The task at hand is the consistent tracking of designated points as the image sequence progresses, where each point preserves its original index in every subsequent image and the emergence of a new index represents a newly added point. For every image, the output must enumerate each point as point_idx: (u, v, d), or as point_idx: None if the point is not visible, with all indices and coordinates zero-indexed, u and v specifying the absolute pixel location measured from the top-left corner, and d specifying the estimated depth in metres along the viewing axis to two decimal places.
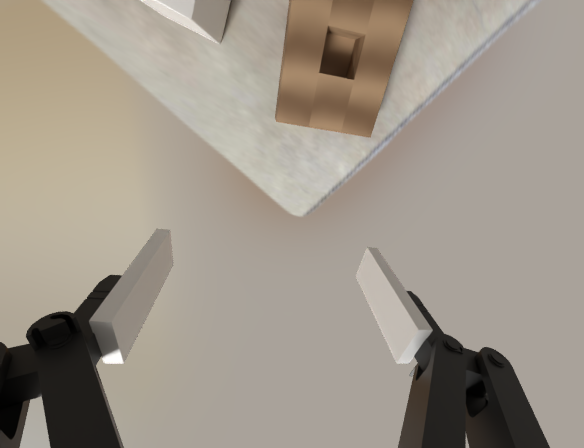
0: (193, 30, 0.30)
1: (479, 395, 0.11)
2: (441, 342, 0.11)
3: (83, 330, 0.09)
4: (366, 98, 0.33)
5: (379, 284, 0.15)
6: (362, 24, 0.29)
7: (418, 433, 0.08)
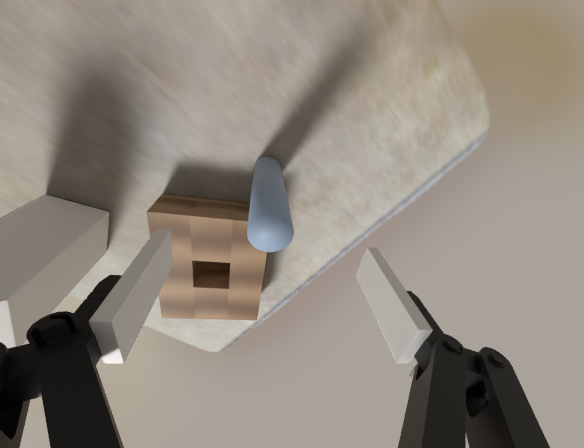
0: None
1: (479, 395, 0.11)
2: (441, 342, 0.11)
3: (83, 330, 0.09)
4: (244, 298, 0.35)
5: (379, 284, 0.15)
6: (225, 257, 0.31)
7: (418, 433, 0.08)
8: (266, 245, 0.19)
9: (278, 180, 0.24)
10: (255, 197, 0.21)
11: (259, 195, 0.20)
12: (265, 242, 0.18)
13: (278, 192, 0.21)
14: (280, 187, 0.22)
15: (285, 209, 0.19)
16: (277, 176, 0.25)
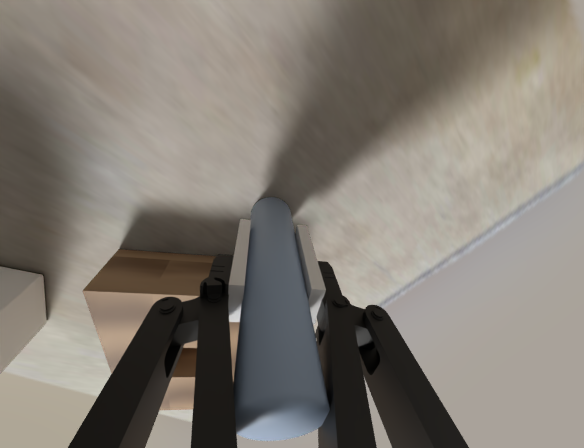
0: None
1: (371, 348, 0.12)
2: (331, 303, 0.12)
3: None
4: None
5: (299, 256, 0.16)
6: None
7: (330, 402, 0.08)
8: (272, 433, 0.09)
9: (290, 255, 0.14)
10: (250, 308, 0.11)
11: (258, 308, 0.11)
12: (269, 430, 0.09)
13: (293, 295, 0.11)
14: (295, 275, 0.13)
15: (310, 353, 0.09)
16: (288, 244, 0.15)
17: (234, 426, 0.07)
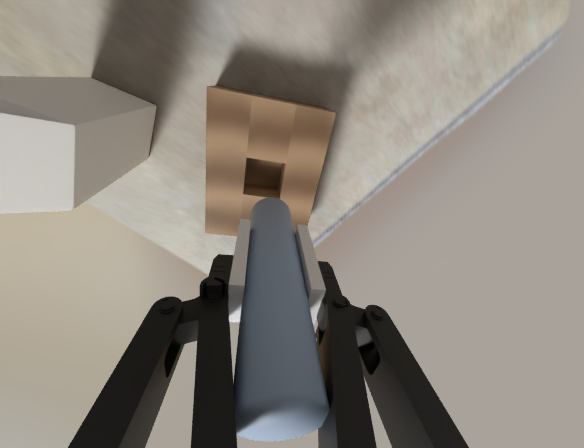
0: None
1: (371, 348, 0.12)
2: (331, 303, 0.12)
3: None
4: (293, 212, 0.33)
5: (299, 256, 0.16)
6: (281, 155, 0.29)
7: (330, 402, 0.08)
8: (272, 434, 0.09)
9: (290, 255, 0.14)
10: (250, 309, 0.11)
11: (258, 308, 0.11)
12: (269, 431, 0.09)
13: (293, 295, 0.11)
14: (295, 275, 0.13)
15: (310, 353, 0.09)
16: (288, 244, 0.15)
17: (234, 426, 0.07)
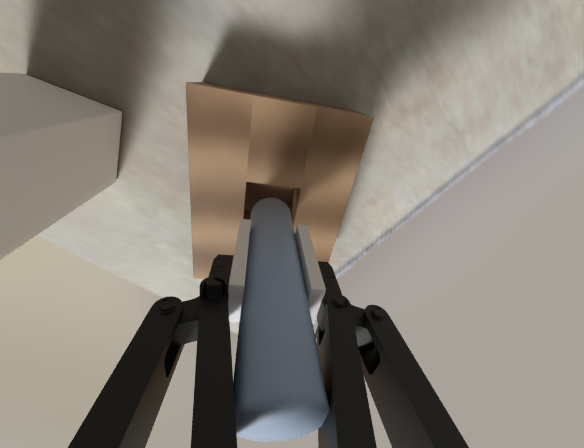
0: None
1: (371, 348, 0.12)
2: (331, 303, 0.12)
3: None
4: None
5: (299, 256, 0.16)
6: (294, 178, 0.21)
7: (330, 402, 0.08)
8: (271, 434, 0.09)
9: (290, 256, 0.14)
10: (249, 309, 0.11)
11: (257, 309, 0.11)
12: (269, 431, 0.09)
13: (293, 296, 0.11)
14: (295, 276, 0.13)
15: (310, 354, 0.09)
16: (288, 245, 0.15)
17: (234, 426, 0.07)
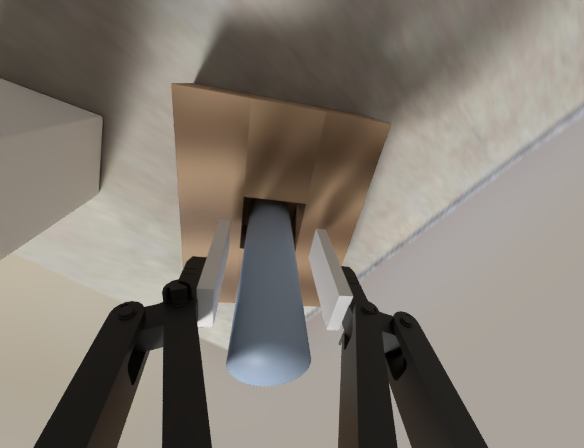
0: None
1: (398, 355, 0.12)
2: (359, 309, 0.12)
3: None
4: None
5: (320, 261, 0.16)
6: (299, 192, 0.18)
7: (353, 405, 0.08)
8: (262, 378, 0.11)
9: (284, 237, 0.16)
10: (246, 278, 0.12)
11: (253, 277, 0.12)
12: (260, 375, 0.10)
13: (284, 268, 0.13)
14: (287, 253, 0.14)
15: (296, 312, 0.11)
16: (282, 228, 0.17)
17: (208, 431, 0.07)
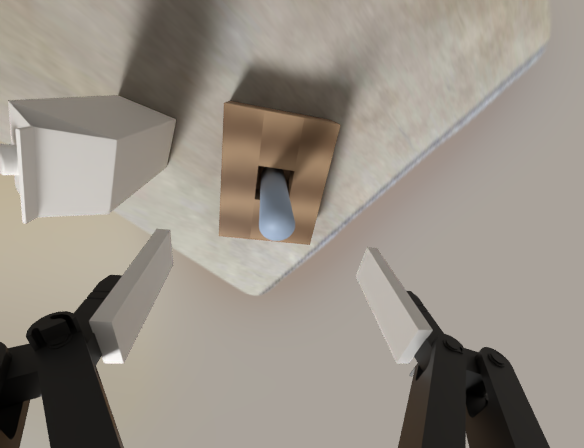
0: None
1: (479, 395, 0.11)
2: (441, 342, 0.11)
3: (83, 330, 0.09)
4: (301, 216, 0.35)
5: (379, 284, 0.15)
6: (290, 163, 0.31)
7: (418, 433, 0.08)
8: (273, 235, 0.24)
9: (282, 185, 0.29)
10: (264, 198, 0.26)
11: (268, 196, 0.25)
12: (273, 232, 0.24)
13: (283, 194, 0.26)
14: (284, 190, 0.28)
15: (288, 207, 0.24)
16: (281, 181, 0.30)
17: None
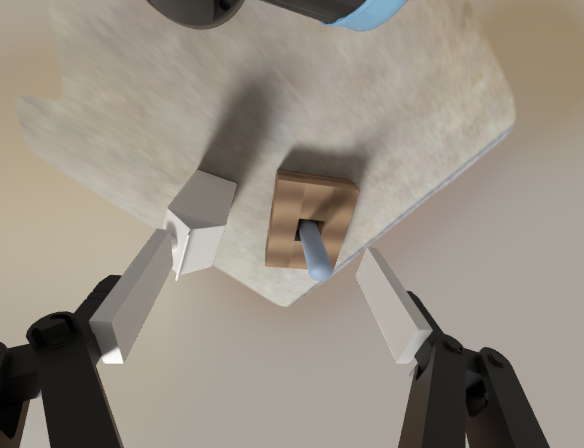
0: None
1: (479, 395, 0.11)
2: (441, 342, 0.11)
3: (83, 330, 0.09)
4: (328, 251, 0.47)
5: (379, 284, 0.15)
6: (322, 216, 0.43)
7: (418, 433, 0.08)
8: (318, 277, 0.35)
9: (318, 235, 0.40)
10: (309, 249, 0.37)
11: (312, 248, 0.37)
12: (317, 276, 0.35)
13: (321, 245, 0.37)
14: (321, 241, 0.39)
15: (327, 258, 0.35)
16: (317, 231, 0.41)
17: None
